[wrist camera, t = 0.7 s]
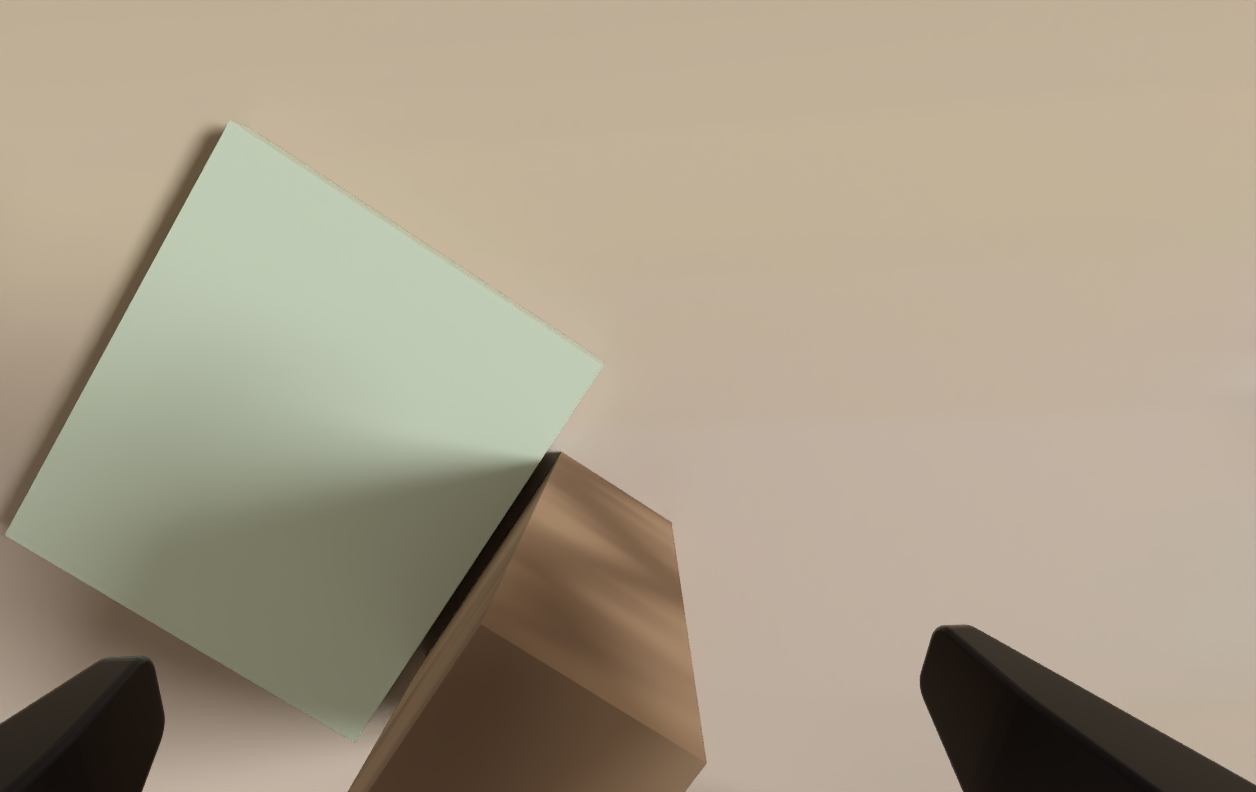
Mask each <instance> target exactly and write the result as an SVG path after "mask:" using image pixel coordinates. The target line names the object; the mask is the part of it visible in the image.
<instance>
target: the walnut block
mask: <svg viewBox="0 0 1256 792" xmlns="http://www.w3.org/2000/svg"><path fill="white" fill-rule="evenodd" d="M705 765H706V756H705V749H704V742H703V735H702V728H701V722H700V715H699V708H698V701H697V694H696V687H695V680H694V674H693V667H692V660H691V653H690V646H689V639H688V632H687V626H686V619H685V612H684V605H683V598H682V591H681V584H680V578H679V571H678V564H677V557H676V550H675V543H674V536H673V530H672V523H671V522H670V521H669V520H667V519H665V518H664V517H662V516H661V515H659V514H658V513H656V512H655V511H653V510H651V509H650V508H648V507H647V506H645V505H644V504H642V503H641V502H639V501H637V500H636V499H634V498H633V497H631V496H630V495H628V494H627V493H625V492H623V491H622V490H620V489H619V488H617V487H616V486H614V485H613V484H611V483H609V482H608V481H606V480H605V479H603V478H602V477H600V476H599V475H597V474H595V473H594V472H592V471H591V470H589V469H588V468H586V467H585V466H583V465H582V464H580V463H578V462H577V461H575V460H574V459H572V458H571V457H569V456H568V455H566V454H564V453H563V452H561V453H560V455H559V456H558V458H557V459H556V461H555V463H554V464H553V466H552V467H551V469H550V470H549V472H548V473H547V475H546V476H545V478H544V479H543V481H542V482H541V484H540V485H539V487H538V488H537V490H536V491H535V493H534V494H533V496H532V497H531V499H530V500H529V502H528V503H527V505H526V506H525V508H524V509H523V511H522V512H521V514H520V515H519V517H518V518H517V520H516V521H515V523H514V524H513V526H512V527H511V529H510V530H509V532H508V533H507V535H506V536H505V538H504V539H503V541H502V542H501V544H500V545H499V547H498V548H497V550H496V552H495V553H494V555H493V556H492V558H491V559H490V561H489V562H488V564H487V565H486V567H485V568H484V570H483V571H482V573H481V574H480V576H479V577H478V579H477V580H476V582H475V583H474V585H473V586H472V588H471V589H470V591H469V592H468V594H467V595H466V597H465V598H464V600H463V601H462V603H461V604H460V606H459V607H458V609H457V610H456V612H455V613H454V615H453V616H452V618H451V619H450V621H449V622H448V624H447V625H446V627H445V628H444V630H443V631H442V633H441V634H440V636H439V637H438V639H437V641H436V642H435V644H434V645H433V647H432V648H431V650H430V651H429V653H428V654H427V656H426V657H425V659H424V661H423V662H422V664H421V666H420V668H419V669H418V671H417V673H416V675H415V676H414V678H413V680H412V681H411V683H410V685H409V687H408V688H407V690H406V692H405V694H404V695H403V697H402V699H401V701H400V702H399V704H398V706H397V707H396V709H395V711H394V713H393V714H392V716H391V718H390V720H389V721H388V723H387V725H386V727H385V728H384V730H383V732H382V733H381V735H380V737H379V739H378V740H377V742H376V744H375V746H374V747H373V749H372V751H371V753H370V754H369V756H368V758H367V759H366V761H365V763H364V765H363V766H362V768H361V770H360V772H359V773H358V775H357V777H356V779H355V780H354V782H353V784H352V785H351V787H350V789H349V791H348V792H685V791H686V790H687V788H688V787H689V786H690V784H691V783H692V782H693V780H694V779H695V778H696V776H697V775H698V774H699V772H700V771H701V770H702V768H703V767H704V766H705Z"/></svg>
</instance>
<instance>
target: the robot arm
mask: <svg viewBox="0 0 1256 792" xmlns="http://www.w3.org/2000/svg"><path fill="white" fill-rule="evenodd" d="M920 689H921V693H922V697H923V699H924V702H925V704H926V706H927V709H928V711H929V713H930V716H931V718H932V720H933V723H934V725H935V727H936V730H937V732H938V734H939V737H940V739H941V741H942V744H943V746H944V748H945V751H946V753H947V755H948V758H949V760H950V762H951V765H952V767H953V769H954V772H955V774H956V776H957V779H958V781H959V783H960V786H961V788H962V790H963V792H1256V785H1255V784H1253V783H1251V782H1249V781H1248V780H1246V779H1244V778H1242V777H1240V776H1239V775H1237V774H1235V773H1233V772H1232V771H1230V770H1228V769H1226V768H1224V767H1223V766H1221V765H1219V764H1217V763H1215V762H1214V761H1212V760H1210V759H1208V758H1207V757H1205V756H1203V755H1201V754H1199V753H1198V752H1196V751H1194V750H1192V749H1191V748H1189V747H1187V746H1185V745H1183V744H1182V743H1180V742H1178V741H1176V740H1174V739H1173V738H1171V737H1169V736H1167V735H1166V734H1164V733H1162V732H1160V731H1158V730H1157V729H1155V728H1153V727H1151V726H1149V725H1148V724H1146V723H1144V722H1142V721H1141V720H1139V719H1137V718H1135V717H1133V716H1132V715H1130V714H1128V713H1126V712H1125V711H1123V710H1121V709H1119V708H1117V707H1116V706H1114V705H1112V704H1110V703H1109V702H1107V701H1105V700H1103V699H1101V698H1100V697H1098V696H1096V695H1094V694H1092V693H1091V692H1089V691H1087V690H1085V689H1084V688H1082V687H1080V686H1078V685H1076V684H1075V683H1073V682H1071V681H1069V680H1068V679H1066V678H1064V677H1062V676H1060V675H1059V674H1057V673H1055V672H1053V671H1052V670H1050V669H1048V668H1046V667H1044V666H1043V665H1041V664H1039V663H1037V662H1035V661H1034V660H1032V659H1030V658H1028V657H1027V656H1025V655H1023V654H1021V653H1019V652H1018V651H1016V650H1014V649H1012V648H1011V647H1009V646H1007V645H1005V644H1003V643H1002V642H1000V641H998V640H996V639H995V638H993V637H991V636H989V635H987V634H986V633H984V632H982V631H980V630H978V629H977V628H975V627H973V626H970V625H943V626H940V627H938V628H937V629H936V630H935V631H934V632H933V634H932V637H931V640H930V643H929V647H928V650H927V654H926V657H925V660H924V664H923V667H922V670H921V674H920ZM164 724H165V716H164V710H163V705H162V700H161V695H160V691H159V686H158V681H157V677H156V672H155V668H154V665H153V663H152V661H151V660H150V659H149V658H147V657H144V656H126V657H109V658H104V659H102V660H100V661H98V662H96V663H94V664H93V665H91V666H90V667H88V668H87V669H85V670H84V671H82V672H80V673H79V674H77V675H76V676H74V677H73V678H71V679H69V680H68V681H66V682H65V683H63V684H62V685H60V686H59V687H57V688H55V689H54V690H52V691H51V692H49V693H48V694H46V695H45V696H43V697H41V698H40V699H38V700H37V701H35V702H34V703H32V704H30V705H29V706H27V707H26V708H24V709H23V710H21V711H20V712H18V713H16V714H15V715H13V716H12V717H10V718H9V719H7V720H6V721H4V722H2V723H1V724H0V792H142V790H143V787H144V785H145V782H146V779H147V777H148V774H149V771H150V769H151V766H152V763H153V761H154V758H155V755H156V753H157V750H158V747H159V744H160V742H161V739H162V735H163V731H164Z"/></svg>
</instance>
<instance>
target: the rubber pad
mask: <svg viewBox="0 0 1256 792" xmlns="http://www.w3.org/2000/svg"><path fill="white" fill-rule="evenodd" d="M604 363H605V362H604V361H602V360H601V359H599V358H598V357H596V356H595V355H593V354H592V353H590V352H589V351H587V350H585V349H584V348H582V347H581V346H579V345H578V344H576V343H575V342H573V341H572V340H570V339H569V338H567V337H566V336H564V335H563V334H561V333H560V332H558V331H557V330H555V329H554V328H552V327H551V326H549V325H547V324H546V323H544V322H543V321H541V320H540V319H538V318H537V317H535V316H534V315H532V314H531V313H529V312H528V311H526V310H525V309H523V308H522V307H520V306H519V305H517V304H516V303H514V302H513V301H511V300H509V299H508V298H506V297H505V296H503V295H502V294H500V293H499V292H497V291H496V290H494V289H493V288H491V287H490V286H488V285H487V284H485V283H484V282H482V281H481V280H479V279H478V278H476V277H475V276H473V275H472V274H470V273H468V272H467V271H465V270H464V269H462V268H461V267H459V266H458V265H456V264H455V263H453V262H452V261H450V260H449V259H447V258H446V257H444V256H443V255H441V254H440V253H438V252H437V251H435V250H434V249H432V248H430V247H429V246H427V245H426V244H424V243H423V242H421V241H420V240H418V239H417V238H415V237H414V236H412V235H411V234H409V233H408V232H406V231H405V230H403V229H402V228H400V227H399V226H397V225H396V224H394V223H392V222H391V221H389V220H388V219H386V218H385V217H383V216H382V215H380V214H379V213H377V212H376V211H374V210H373V209H371V208H370V207H368V206H367V205H365V204H364V203H362V202H361V201H359V200H358V199H356V198H354V197H353V196H351V195H350V194H348V193H347V192H345V191H344V190H342V189H341V188H339V187H338V186H336V185H335V184H333V183H332V182H330V181H329V180H327V179H326V178H324V177H323V176H321V175H320V174H318V173H317V172H315V171H313V170H312V169H310V168H309V167H307V166H306V165H304V164H303V163H301V162H300V161H298V160H297V159H295V158H294V157H292V156H291V155H289V154H288V153H286V152H285V151H283V150H282V149H280V148H279V147H277V146H275V145H274V144H272V143H271V142H269V141H268V140H266V139H265V138H263V137H262V136H260V135H259V134H257V133H256V132H254V131H253V130H251V129H249V128H247V127H245V126H242V125H240V124H237V123H235V122H232V121H229V123H228V125H227V126H226V128H225V130H224V132H223V134H222V136H221V137H220V139H219V141H218V143H217V145H216V147H215V148H214V150H213V152H212V154H211V156H210V158H209V160H208V161H207V163H206V165H205V167H204V169H203V171H202V172H201V174H200V176H199V178H198V180H197V182H196V183H195V185H194V187H193V189H192V191H191V193H190V195H189V196H188V198H187V200H186V202H185V204H184V206H183V207H182V209H181V211H180V213H179V215H178V217H177V218H176V220H175V222H174V224H173V226H172V228H171V230H170V231H169V233H168V235H167V237H166V239H165V241H164V242H163V244H162V246H161V248H160V250H159V252H158V253H157V255H156V257H155V259H154V261H153V263H152V265H151V266H150V268H149V270H148V272H147V274H146V276H145V277H144V279H143V281H142V283H141V285H140V287H139V288H138V290H137V292H136V294H135V296H134V298H133V300H132V301H131V303H130V305H129V307H128V309H127V311H126V312H125V314H124V316H123V318H122V320H121V322H120V323H119V325H118V327H117V329H116V331H115V333H114V335H113V336H112V338H111V340H110V342H109V344H108V346H107V347H106V349H105V351H104V353H103V355H102V357H101V358H100V360H99V362H98V364H97V366H96V368H95V370H94V371H93V373H92V375H91V377H90V379H89V381H88V382H87V384H86V386H85V388H84V390H83V392H82V394H81V395H80V397H79V399H78V401H77V403H76V405H75V406H74V408H73V410H72V412H71V414H70V416H69V417H68V419H67V421H66V423H65V425H64V427H63V429H62V430H61V432H60V434H59V436H58V438H57V440H56V441H55V443H54V445H53V447H52V449H51V451H50V452H49V454H48V456H47V458H46V460H45V462H44V464H43V465H42V467H41V469H40V471H39V473H38V475H37V476H36V478H35V480H34V482H33V484H32V486H31V487H30V489H29V491H28V493H27V495H26V497H25V499H24V500H23V502H22V504H21V506H20V508H19V510H18V511H17V513H16V515H15V517H14V519H13V521H12V522H11V524H10V526H9V528H8V530H7V532H6V534H5V536H7V537H8V538H10V539H12V540H13V541H15V542H17V543H18V544H20V545H22V546H23V547H25V548H27V549H28V550H30V551H32V552H33V553H35V554H37V555H39V556H40V557H42V558H44V559H45V560H47V561H49V562H50V563H52V564H54V565H55V566H57V567H59V568H60V569H62V570H64V571H66V572H67V573H69V574H71V575H72V576H74V577H76V578H77V579H79V580H81V581H82V582H84V583H86V584H87V585H89V586H91V587H93V588H94V589H96V590H98V591H99V592H101V593H103V594H104V595H106V596H108V597H109V598H111V599H113V600H114V601H116V602H118V603H120V604H121V605H123V606H125V607H126V608H128V609H130V610H131V611H133V612H135V613H136V614H138V615H140V616H141V617H143V618H145V619H146V620H148V621H150V622H152V623H153V624H155V625H157V626H158V627H160V628H162V629H163V630H165V631H167V632H168V633H170V634H172V635H173V636H175V637H177V638H179V639H180V640H182V641H184V642H185V643H187V644H189V645H190V646H192V647H194V648H195V649H197V650H199V651H200V652H202V653H204V654H206V655H207V656H209V657H211V658H212V659H214V660H216V661H217V662H219V663H221V664H222V665H224V666H226V667H227V668H229V669H231V670H232V671H234V672H236V673H238V674H239V675H241V676H243V677H244V678H246V679H248V680H249V681H251V682H253V683H254V684H256V685H258V686H259V687H261V688H263V689H265V690H266V691H268V692H270V693H271V694H273V695H275V696H276V697H278V698H280V699H281V700H283V701H285V702H286V703H288V704H290V705H292V706H293V707H295V708H297V709H298V710H300V711H302V712H303V713H305V714H307V715H308V716H310V717H312V718H313V719H315V720H317V721H319V722H320V723H322V724H324V725H325V726H327V727H329V728H330V729H332V730H334V731H335V732H337V733H339V734H340V735H342V736H344V737H345V738H347V739H349V740H351V741H352V742H354V743H355V741H356V740H357V738H358V737H359V735H360V734H361V732H362V731H363V729H364V728H365V726H366V725H367V723H368V722H369V720H370V719H371V717H372V716H373V714H374V713H375V711H376V710H377V708H378V707H379V705H380V704H381V702H382V701H383V699H384V697H385V696H386V694H387V693H388V691H389V690H390V688H391V687H392V685H393V684H394V682H395V681H396V679H397V678H398V676H399V675H400V673H401V672H402V670H403V669H404V667H405V666H406V664H407V663H408V661H409V660H410V658H411V657H412V655H413V654H414V652H415V650H416V649H417V647H418V646H419V644H420V643H421V641H422V640H423V638H424V637H425V635H426V634H427V632H428V631H429V629H430V628H431V626H432V625H433V623H434V622H435V620H436V619H437V617H438V616H439V614H440V613H441V611H442V610H443V608H444V606H445V605H446V603H447V602H448V600H449V599H450V597H451V596H452V594H453V593H454V591H455V590H456V588H457V587H458V585H459V584H460V582H461V581H462V579H463V578H464V576H465V575H466V573H467V572H468V570H469V569H470V567H471V566H472V564H473V563H474V561H475V559H476V558H477V556H478V555H479V553H480V552H481V550H482V549H483V547H484V546H485V544H486V543H487V541H488V540H489V538H490V537H491V535H492V534H493V532H494V531H495V529H496V528H497V526H498V525H499V523H500V522H501V520H502V519H503V517H504V515H505V514H506V512H507V511H508V509H509V508H510V506H511V505H512V503H513V502H514V500H515V499H516V497H517V496H518V494H519V493H520V491H521V490H522V488H523V487H524V485H525V484H526V482H527V481H528V479H529V478H530V476H531V475H532V473H533V472H534V470H535V468H536V467H537V465H538V464H539V462H540V461H541V459H542V458H543V456H544V455H545V453H546V452H547V450H548V449H549V447H550V446H551V444H552V443H553V441H554V440H555V438H556V437H557V435H558V434H559V432H560V431H561V429H562V428H563V426H564V424H565V423H566V421H567V420H568V418H569V417H570V415H571V414H572V412H573V411H574V409H575V408H576V406H577V405H578V403H579V402H580V400H581V399H582V397H583V396H584V394H585V393H586V391H587V390H588V388H589V387H590V385H591V384H592V382H593V381H594V379H595V377H596V376H597V374H598V373H599V371H600V370H601V368H602V367H603V365H604Z"/></svg>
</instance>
